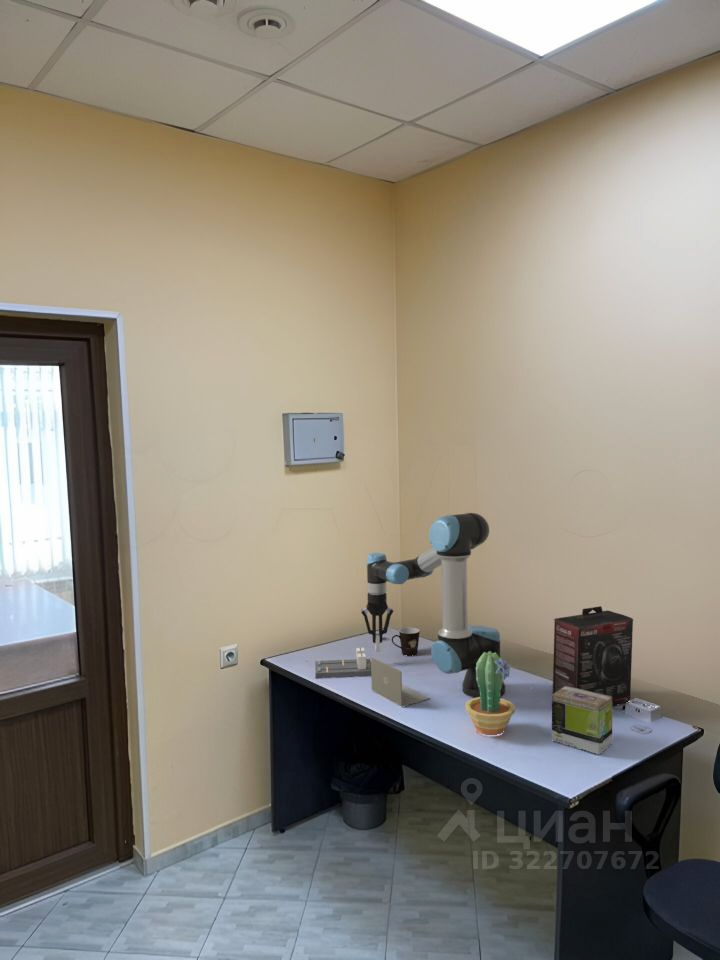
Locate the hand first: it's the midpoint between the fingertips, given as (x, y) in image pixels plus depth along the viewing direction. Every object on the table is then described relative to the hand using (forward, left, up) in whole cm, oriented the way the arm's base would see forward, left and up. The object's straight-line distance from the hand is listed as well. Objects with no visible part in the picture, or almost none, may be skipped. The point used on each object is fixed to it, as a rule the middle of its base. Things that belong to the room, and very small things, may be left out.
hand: (377, 650), depth 277 cm
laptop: (-31, -5, -7) cm, 32 cm away
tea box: (-74, -54, -7) cm, 92 cm away
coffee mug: (+13, -13, -7) cm, 20 cm away
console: (-4, +14, -6) cm, 16 cm away
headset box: (-45, -69, -7) cm, 83 cm away
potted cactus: (-63, -29, -7) cm, 69 cm away
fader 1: (0, +7, -4) cm, 8 cm away
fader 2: (-7, +7, -4) cm, 11 cm away
